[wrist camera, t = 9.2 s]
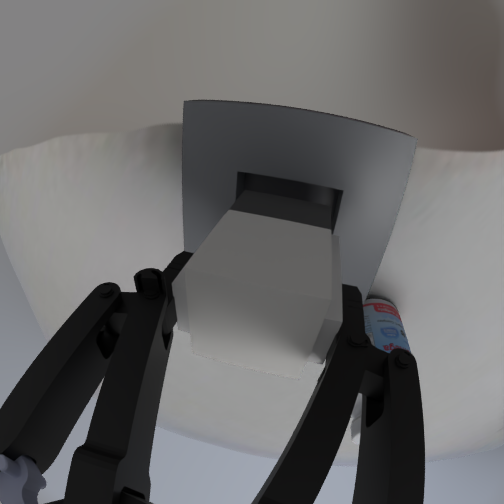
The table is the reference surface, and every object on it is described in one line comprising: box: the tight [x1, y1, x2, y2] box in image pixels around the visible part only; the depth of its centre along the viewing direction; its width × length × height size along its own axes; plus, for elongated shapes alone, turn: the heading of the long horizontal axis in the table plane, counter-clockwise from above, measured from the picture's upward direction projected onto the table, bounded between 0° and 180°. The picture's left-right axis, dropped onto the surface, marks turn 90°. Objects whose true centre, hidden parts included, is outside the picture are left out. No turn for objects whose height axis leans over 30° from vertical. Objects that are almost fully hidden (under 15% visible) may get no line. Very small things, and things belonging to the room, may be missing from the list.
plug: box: [185, 190, 332, 380], centre depth 14 cm, size 5×5×8 cm
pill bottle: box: [351, 299, 411, 445], centre depth 18 cm, size 6×6×11 cm
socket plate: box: [182, 100, 418, 304], centre depth 19 cm, size 15×14×2 cm
